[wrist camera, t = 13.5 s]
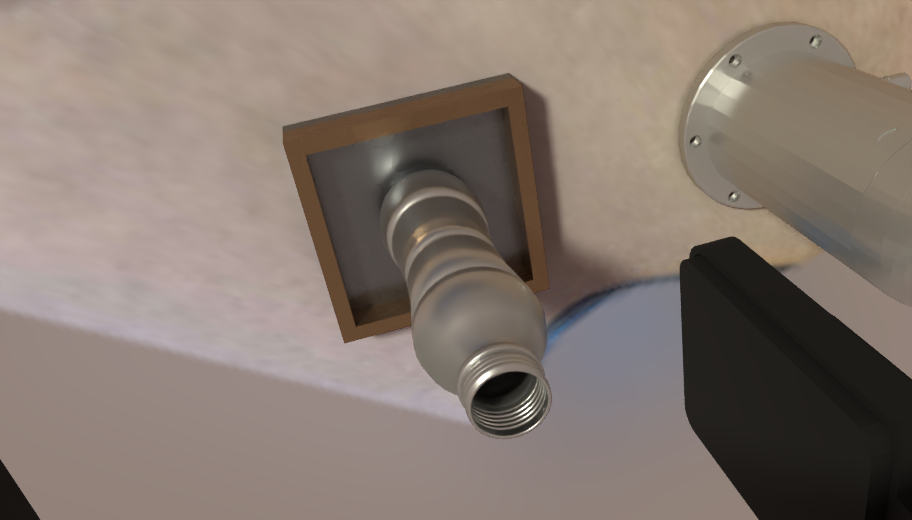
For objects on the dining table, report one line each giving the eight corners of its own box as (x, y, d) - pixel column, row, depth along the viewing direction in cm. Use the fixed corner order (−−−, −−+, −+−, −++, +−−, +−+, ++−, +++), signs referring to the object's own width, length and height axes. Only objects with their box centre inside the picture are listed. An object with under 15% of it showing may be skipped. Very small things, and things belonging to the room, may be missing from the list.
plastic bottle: (433, 137, 46) (527, 305, 29) (496, 213, 49) (614, 404, 32) (352, 203, 47) (396, 404, 30) (419, 273, 50) (494, 490, 33)
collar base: (508, 73, 46) (526, 89, 43) (536, 267, 53) (553, 294, 50) (282, 126, 45) (283, 147, 42) (341, 319, 52) (345, 350, 49)
